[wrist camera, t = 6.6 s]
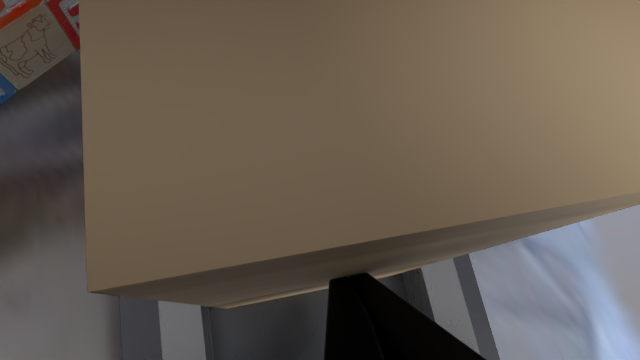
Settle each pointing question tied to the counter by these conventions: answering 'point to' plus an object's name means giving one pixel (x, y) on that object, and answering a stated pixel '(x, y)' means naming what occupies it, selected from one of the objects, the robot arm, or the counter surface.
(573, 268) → the counter surface
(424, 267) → the chute
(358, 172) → the oak block
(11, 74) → the stack of blocks
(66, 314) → the counter surface
